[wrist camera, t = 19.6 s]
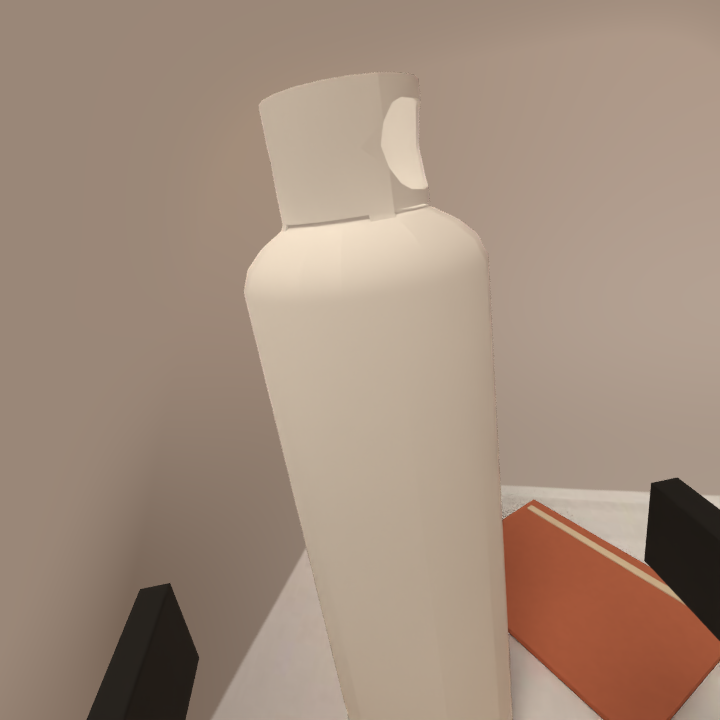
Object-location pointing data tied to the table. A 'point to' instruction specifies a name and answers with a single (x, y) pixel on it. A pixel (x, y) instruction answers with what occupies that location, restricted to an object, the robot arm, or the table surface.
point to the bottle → (385, 402)
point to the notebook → (601, 619)
